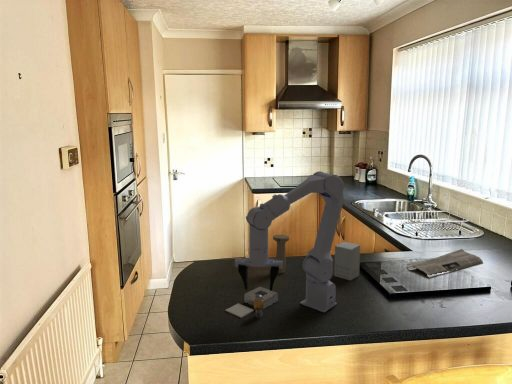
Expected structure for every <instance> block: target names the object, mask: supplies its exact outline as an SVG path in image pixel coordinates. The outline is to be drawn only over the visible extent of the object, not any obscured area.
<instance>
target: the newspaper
mask: <svg viewBox="0 0 512 384" xmlns="http://www.w3.org/2000/svg"><path fill="white" fill-rule="evenodd" d="M483 263H484V261H483V260H482V258H481V257H480V256H478V255H475V254H473V253H470V252H467V251H465V250H464V249H463V248H461V249H458V250H455V251H452V252H450V253H445V254H442V255H439V256H438V257H433V258H429V259H424V260H420V261H416V262H410V263H406V266H407V267H413V268H416V269H419V270H420V271H421V272H423V273H425V275H426V274H428V275H432V274H437V273H442V272H447V271H452V270H456V269H460V270H463V269H467V268H470V267H473V266H479V265H482V264H483ZM419 270H418V271H419Z"/></svg>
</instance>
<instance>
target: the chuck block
mask: <svg viewBox="0 0 512 384" xmlns="http://www.w3.org/2000/svg"><path fill="white" fill-rule="evenodd" d="M256 294H262V295H263V299H264V309H263V310H265V309H266V308H268V307H270V306H272V305H273V303H274V304H275V303H277V302H278V299H279V293H278V292H276V291H273V290H272V291H270V289H269V288H265V287H263V286H258V287H256V288H254V289H252V290H250V291H248V292H246V293H244V296H243V297H244V303H246V304H247V303H248V304H247V305H250V306H253V307H254V299H255V295H256Z"/></svg>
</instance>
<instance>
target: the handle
mask: <svg viewBox="0 0 512 384" xmlns="http://www.w3.org/2000/svg"><path fill="white" fill-rule="evenodd" d="M272 239H273V240H274V241H275V242H276V251H275V252H276V255H275V260H281V261H283V268H282V269H279V271H278V274H284V273H285V271H286V265H287V264H286V263H287V260H286V259H287V257H286V242H288V241H289V240H290V236H289V235H285V234H274V235H273V236H272Z"/></svg>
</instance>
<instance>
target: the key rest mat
mask: <svg viewBox="0 0 512 384" xmlns="http://www.w3.org/2000/svg"><path fill="white" fill-rule="evenodd" d="M254 311H255V309H253V308H250V307H248V306H246V305H243V304H241V303H238V302H237V303H236V304H234V305H232V306H231V307H229V308H226V309H225V312H227V313H229V314H232V315H233V316H235V317H238V318H240V319H242V318H244V317H246V316H247V315H249V314H252V313H253V312H254Z"/></svg>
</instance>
